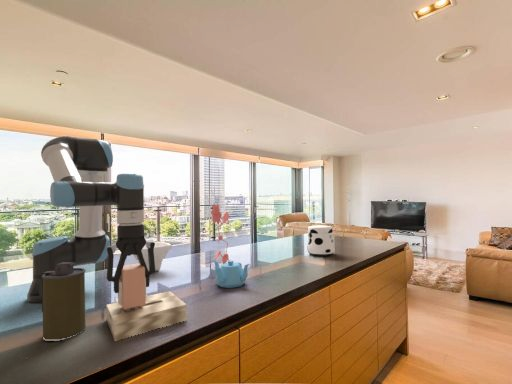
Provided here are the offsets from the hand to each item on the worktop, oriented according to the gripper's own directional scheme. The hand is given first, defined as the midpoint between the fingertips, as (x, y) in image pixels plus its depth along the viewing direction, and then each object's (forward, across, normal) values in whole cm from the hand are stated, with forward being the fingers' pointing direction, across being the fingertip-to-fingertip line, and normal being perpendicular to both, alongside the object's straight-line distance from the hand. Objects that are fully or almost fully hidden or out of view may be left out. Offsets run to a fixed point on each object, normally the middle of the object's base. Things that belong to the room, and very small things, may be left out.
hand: (132, 300), depth 84 cm
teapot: (+7, +42, +15) cm, 45 cm away
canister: (+7, -17, +7) cm, 20 cm away
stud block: (+4, 0, 0) cm, 4 cm away
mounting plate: (+7, +4, 0) cm, 8 cm away
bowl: (+7, +21, +63) cm, 66 cm away
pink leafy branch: (+7, +56, +55) cm, 79 cm away
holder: (+7, +3, +16) cm, 17 cm away
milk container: (+7, +119, +32) cm, 123 cm away
